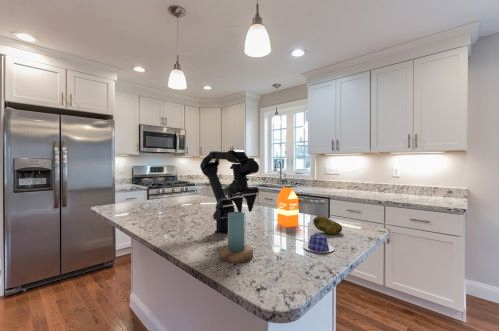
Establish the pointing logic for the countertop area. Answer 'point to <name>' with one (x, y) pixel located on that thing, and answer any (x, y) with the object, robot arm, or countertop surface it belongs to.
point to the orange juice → (287, 207)
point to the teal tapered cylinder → (236, 231)
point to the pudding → (318, 244)
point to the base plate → (236, 255)
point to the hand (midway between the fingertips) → (245, 212)
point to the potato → (327, 225)
